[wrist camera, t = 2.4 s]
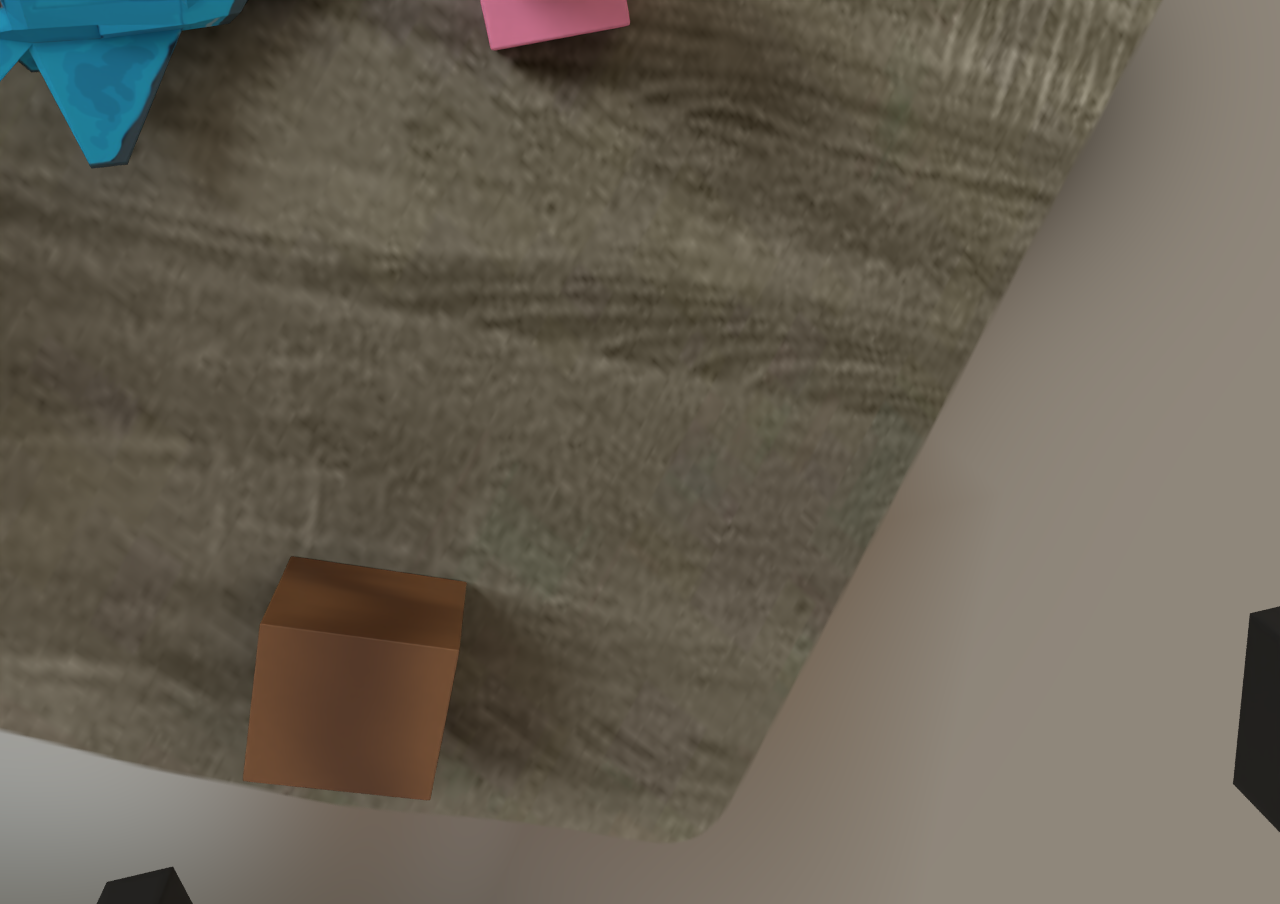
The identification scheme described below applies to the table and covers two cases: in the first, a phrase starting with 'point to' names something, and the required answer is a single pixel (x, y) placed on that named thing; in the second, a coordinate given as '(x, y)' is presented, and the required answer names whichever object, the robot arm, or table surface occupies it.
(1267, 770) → the robot arm
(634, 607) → the table surface
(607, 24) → the block on pink pedestal
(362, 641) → the wood block
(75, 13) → the toy airplane
